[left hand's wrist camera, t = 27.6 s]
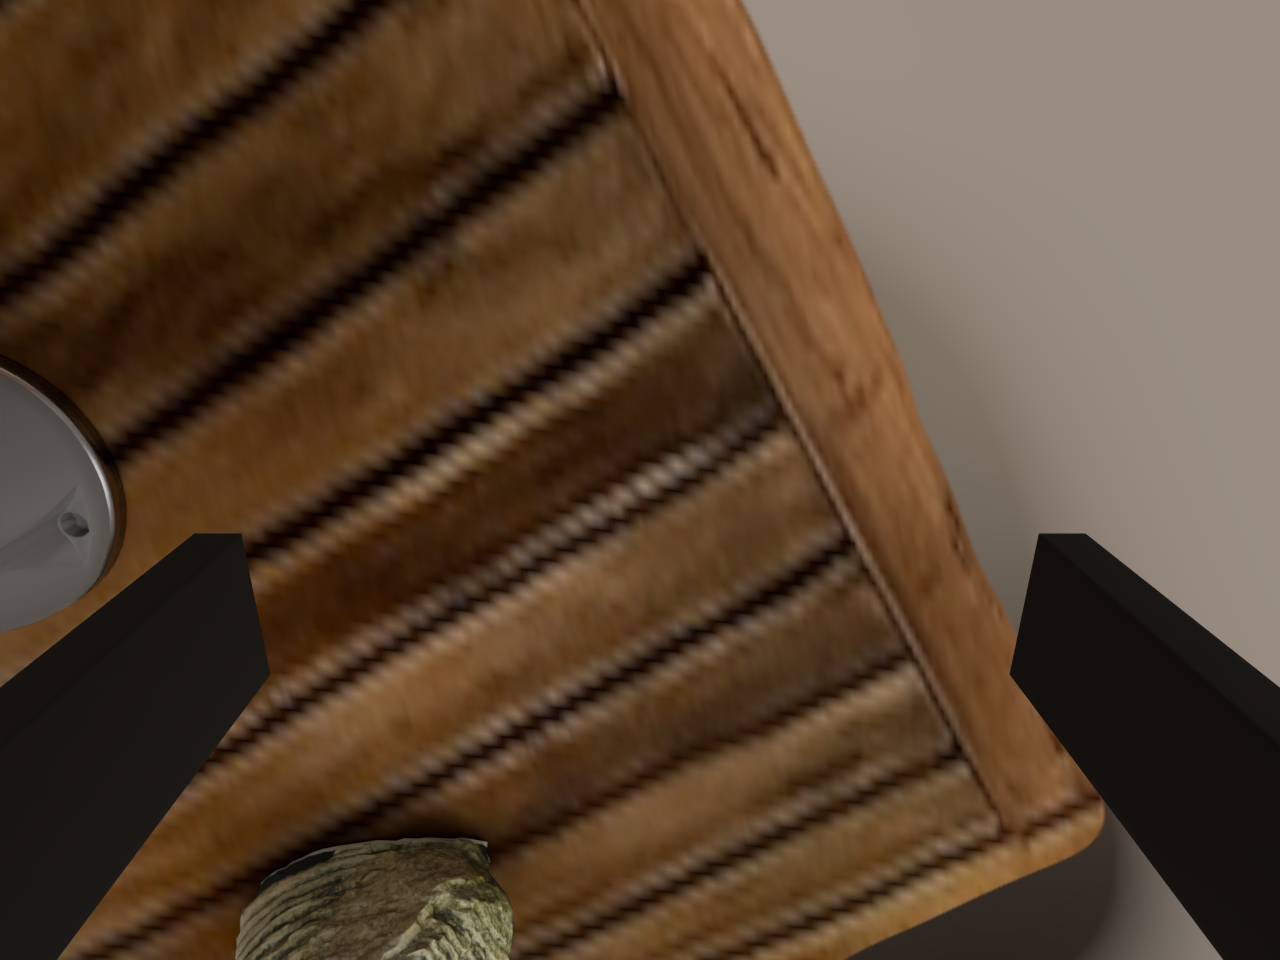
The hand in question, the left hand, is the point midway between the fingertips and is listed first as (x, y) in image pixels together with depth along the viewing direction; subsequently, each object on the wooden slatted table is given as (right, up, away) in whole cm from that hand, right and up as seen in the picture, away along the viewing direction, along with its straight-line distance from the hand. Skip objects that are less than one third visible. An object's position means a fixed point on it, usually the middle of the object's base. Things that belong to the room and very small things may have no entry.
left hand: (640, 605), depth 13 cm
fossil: (-16, -24, +38) cm, 48 cm away
